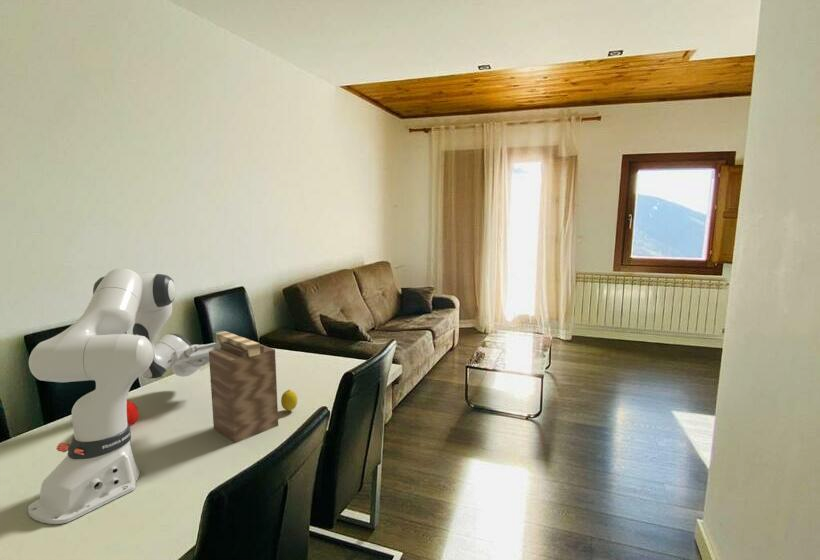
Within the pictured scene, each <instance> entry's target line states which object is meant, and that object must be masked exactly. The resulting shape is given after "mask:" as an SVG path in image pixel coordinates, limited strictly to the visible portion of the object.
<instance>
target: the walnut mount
mask: <svg viewBox="0 0 820 560" xmlns="http://www.w3.org/2000/svg"><path fill="white" fill-rule="evenodd" d="M220 345H221V349H217V350H213V351H209V363H208V364H209V374H210V375H209V376H210V391H211V404H212V405H211V407H212V409H211V410H212V421H213V422H212V423H213V429H214V430H215V431H216V432H218V433H220V434H221V435H222V436H224V437H225V438H227V439H228V440H230V441H231V442H232V443H233V444H236V443H238V442H241V441H244V440H245V439H249V438H251V437H253V436H257V435H259V434H261V433H263V432H266V431H268V430H270V429H273V428H276V427H277V426H279V415H278V412H279V411H278V388H277V369H276V368H277V367H276V366H277V362H276V349H275V348H272V347H270V346H269V347H268V345H264V344H260V354H259V355H255V356H251V357H249V356H247V350H245V349H242V348H240V347H237V346H234V345H232V344H229V343H227V342H222V343H220Z"/></svg>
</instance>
